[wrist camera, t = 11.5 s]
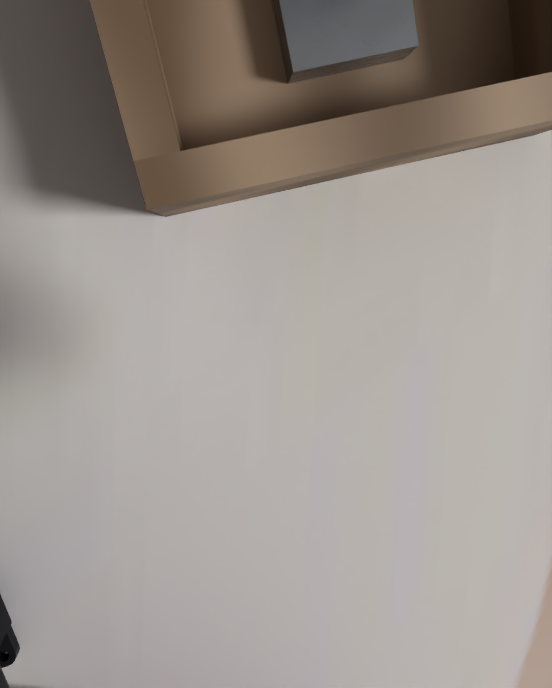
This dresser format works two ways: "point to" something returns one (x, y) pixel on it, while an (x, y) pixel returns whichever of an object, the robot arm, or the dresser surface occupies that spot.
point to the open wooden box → (312, 95)
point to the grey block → (342, 35)
